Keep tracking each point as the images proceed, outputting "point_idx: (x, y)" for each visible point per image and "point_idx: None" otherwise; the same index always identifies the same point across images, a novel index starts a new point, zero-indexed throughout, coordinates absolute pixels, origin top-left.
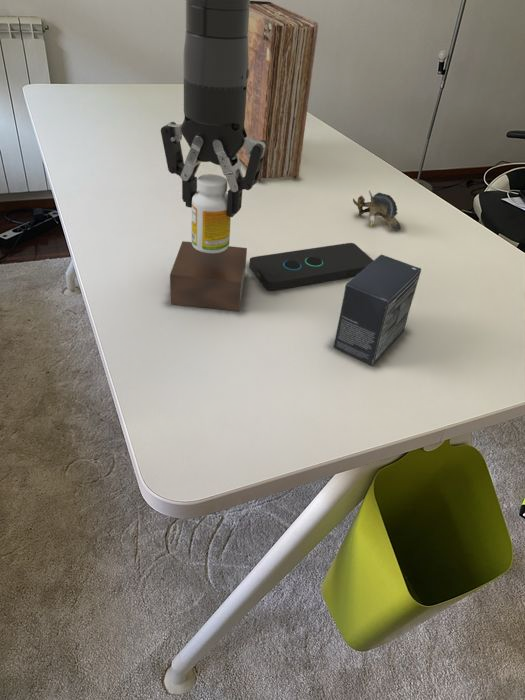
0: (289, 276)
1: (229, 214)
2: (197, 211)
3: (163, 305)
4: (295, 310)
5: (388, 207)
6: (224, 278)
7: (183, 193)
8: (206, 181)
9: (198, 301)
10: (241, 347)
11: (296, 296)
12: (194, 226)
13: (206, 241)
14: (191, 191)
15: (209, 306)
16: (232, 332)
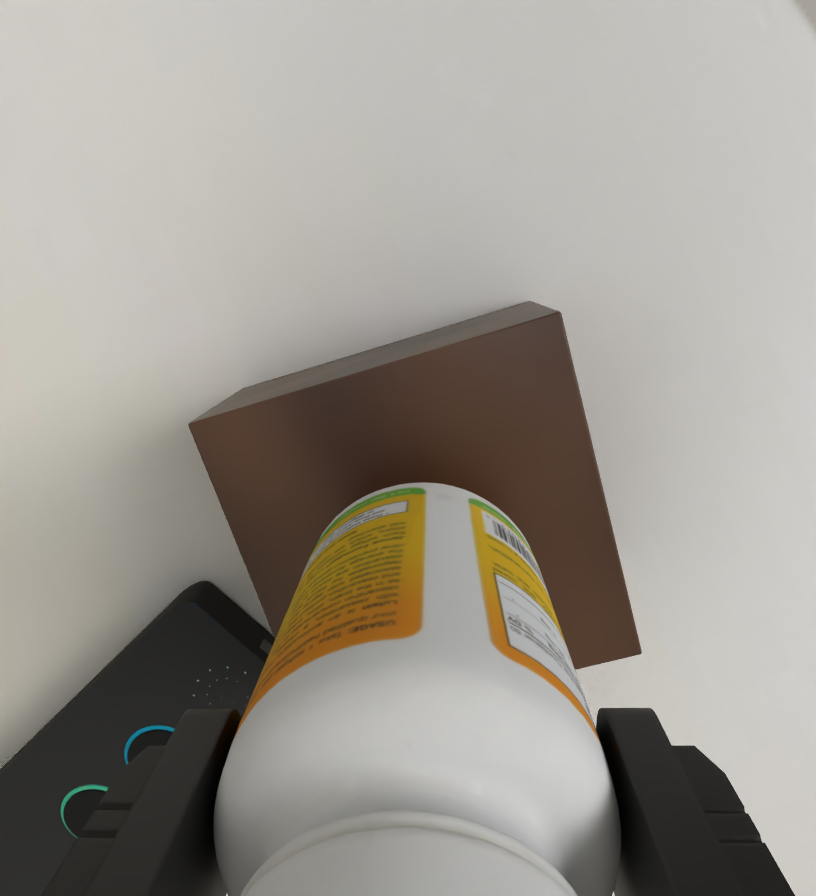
0: (135, 677)
1: (199, 716)
2: (485, 630)
3: (556, 278)
4: (49, 500)
5: None
6: (277, 414)
7: (734, 818)
8: None
9: (408, 340)
10: (114, 146)
11: (90, 592)
12: (506, 568)
13: (394, 512)
14: (648, 857)
15: (362, 353)
16: (197, 231)
